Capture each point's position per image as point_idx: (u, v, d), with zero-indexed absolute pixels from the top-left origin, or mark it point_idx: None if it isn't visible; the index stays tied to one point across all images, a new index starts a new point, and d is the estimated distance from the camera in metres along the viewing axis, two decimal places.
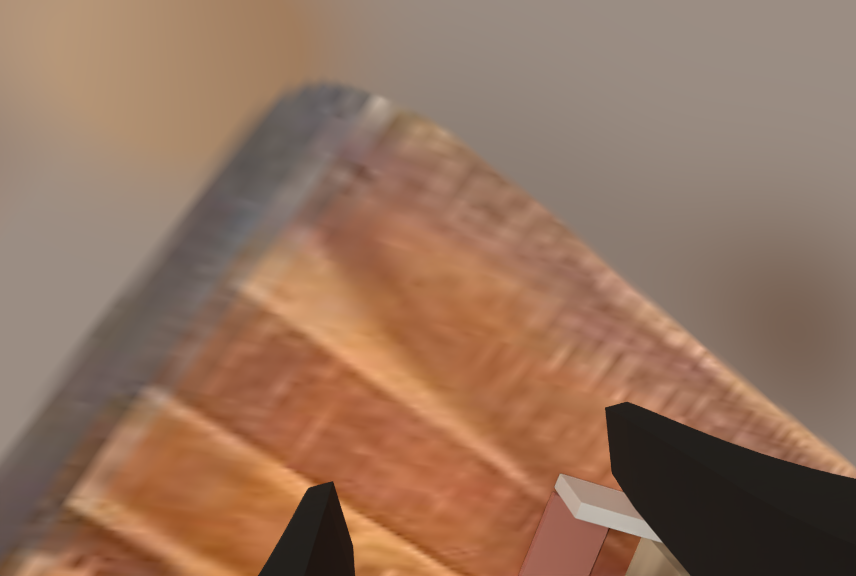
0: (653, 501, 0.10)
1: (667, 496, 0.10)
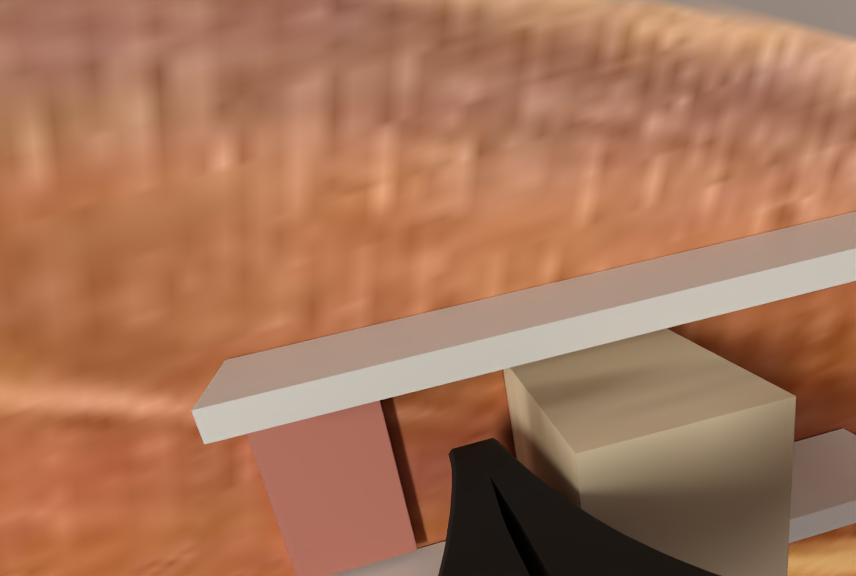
0: None
1: None
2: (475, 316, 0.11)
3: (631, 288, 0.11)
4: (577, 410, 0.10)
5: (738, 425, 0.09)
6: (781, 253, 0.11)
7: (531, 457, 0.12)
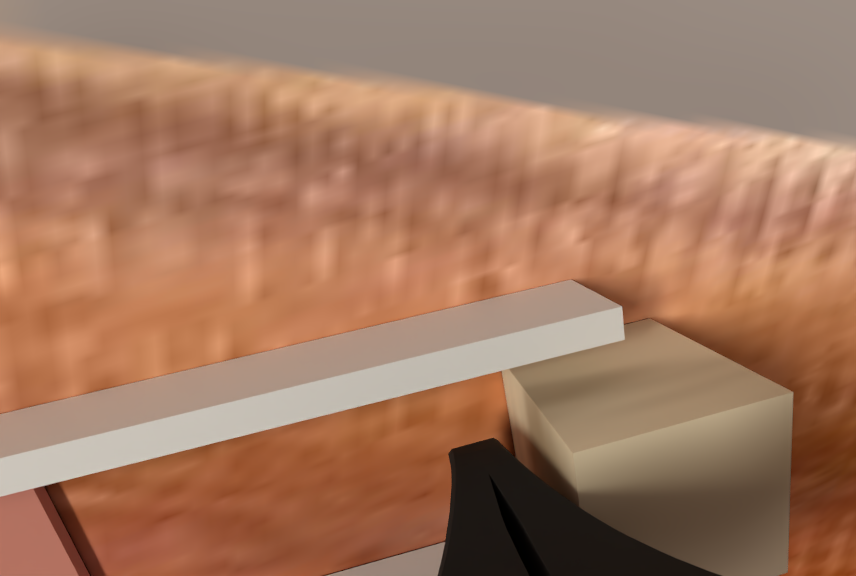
0: None
1: None
2: (100, 407, 0.10)
3: (260, 378, 0.10)
4: (574, 409, 0.10)
5: (735, 422, 0.09)
6: (431, 338, 0.10)
7: (530, 456, 0.12)
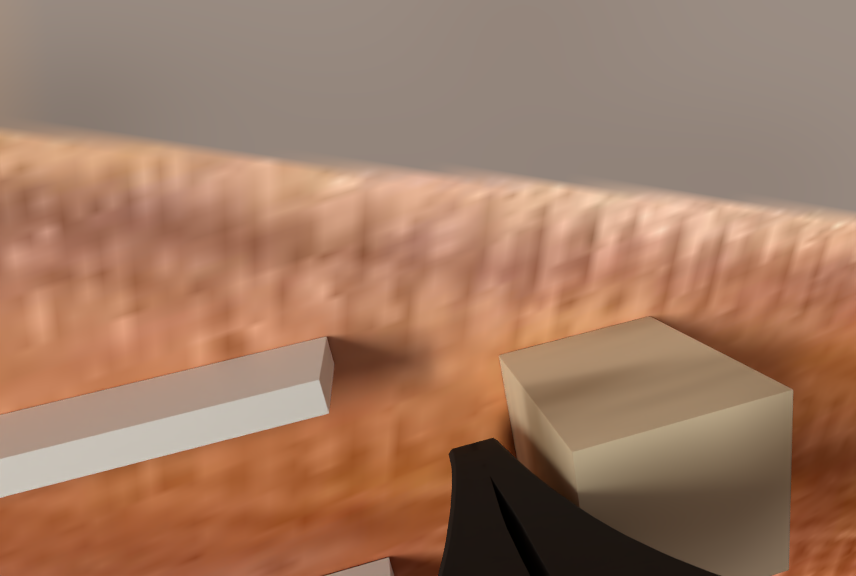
0: None
1: None
2: None
3: None
4: (573, 408, 0.10)
5: (735, 420, 0.09)
6: (126, 412, 0.10)
7: (530, 455, 0.12)
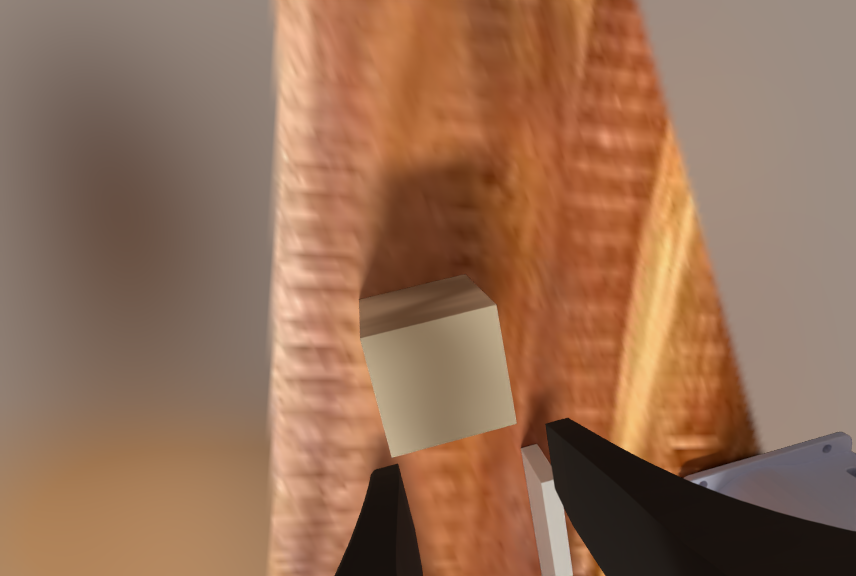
0: (586, 520, 0.10)
1: (597, 517, 0.10)
2: None
3: None
4: None
5: (378, 370, 0.15)
6: None
7: None
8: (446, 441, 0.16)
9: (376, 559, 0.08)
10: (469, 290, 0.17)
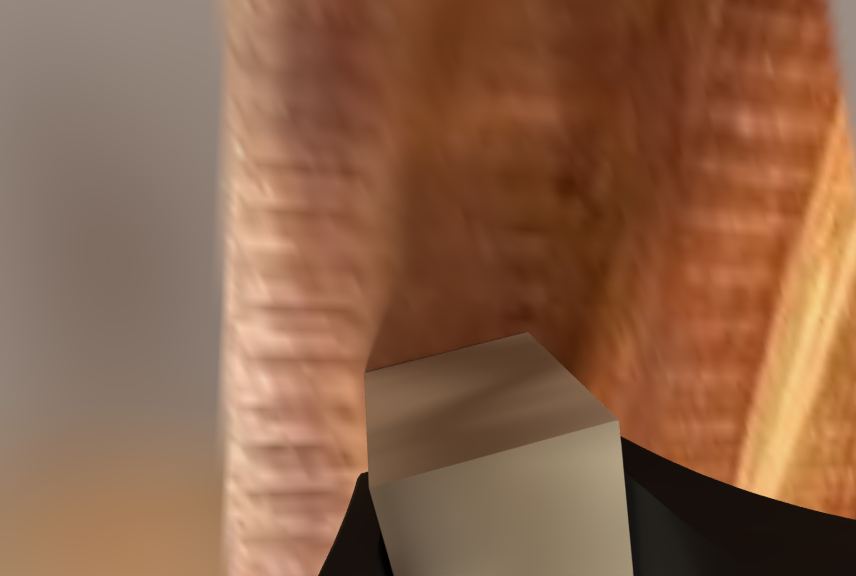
0: None
1: None
2: None
3: None
4: None
5: (402, 540, 0.08)
6: None
7: None
8: None
9: (357, 565, 0.08)
10: (548, 372, 0.10)
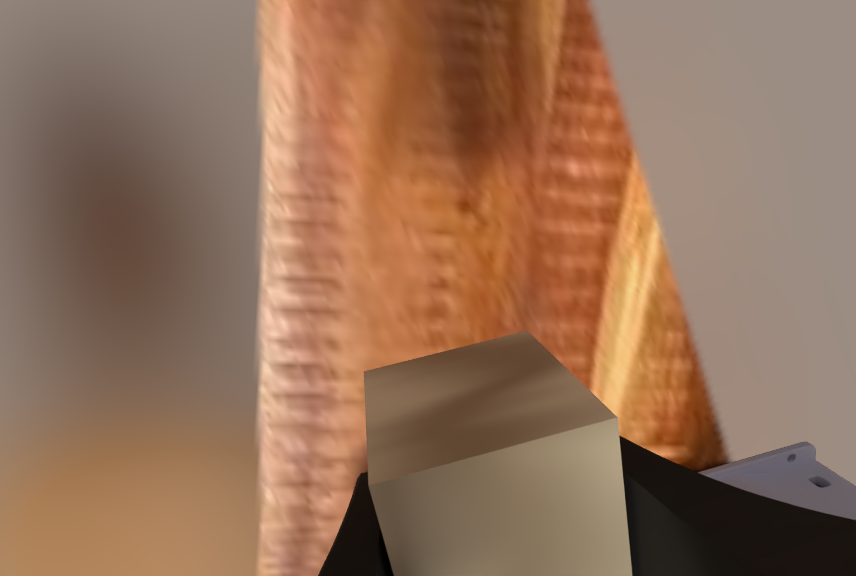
0: None
1: None
2: None
3: None
4: None
5: (401, 537, 0.08)
6: None
7: None
8: None
9: (357, 565, 0.08)
10: (548, 371, 0.10)
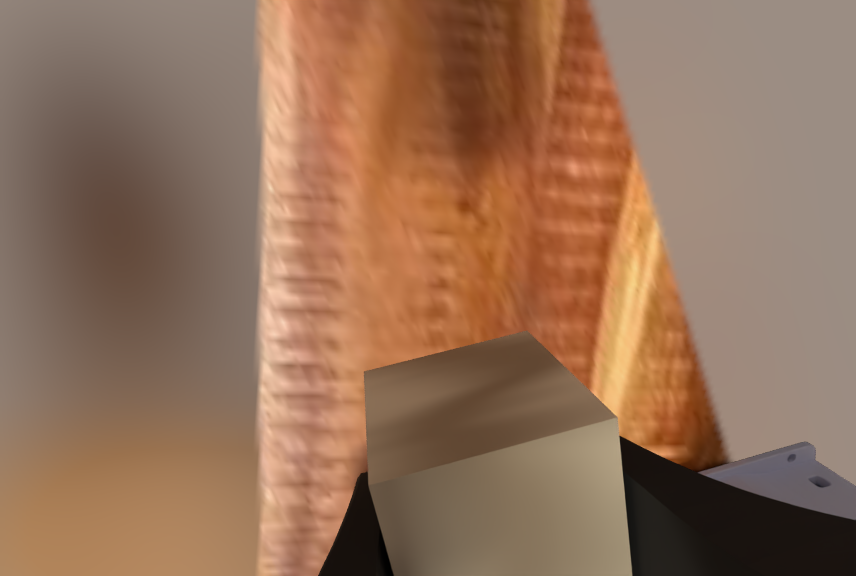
0: None
1: None
2: None
3: None
4: None
5: (401, 537, 0.08)
6: None
7: None
8: None
9: (357, 565, 0.08)
10: (547, 370, 0.10)
